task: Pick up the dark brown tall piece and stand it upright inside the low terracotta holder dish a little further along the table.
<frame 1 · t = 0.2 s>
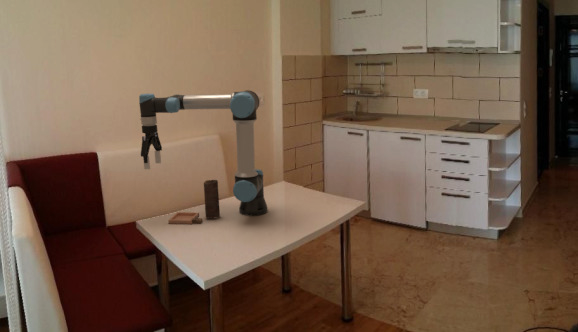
hand: (152, 166, 265), 28 cm above the table, fingers open, 13 cm apart
dark brown tall piece: (212, 218, 268), on the table
matchbox: (196, 222, 261), on the table
holder dish: (184, 220, 266), on the table
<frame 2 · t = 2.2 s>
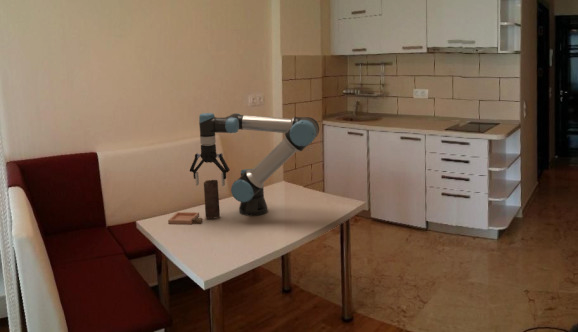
hand: (210, 185, 264), 18 cm above the table, fingers open, 13 cm apart
nothing on the table moved.
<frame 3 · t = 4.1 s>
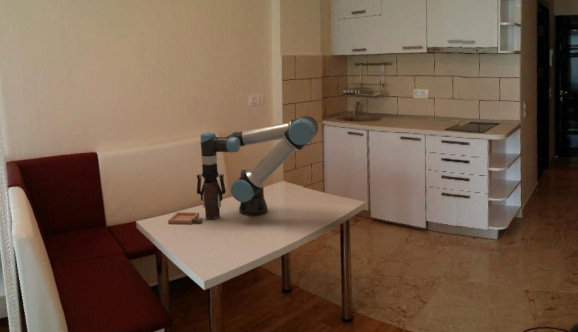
hand: (212, 206, 267), 6 cm above the table, fingers closed on dark brown tall piece, 7 cm apart
dark brown tall piece: (212, 218, 268), on the table, touching gripper
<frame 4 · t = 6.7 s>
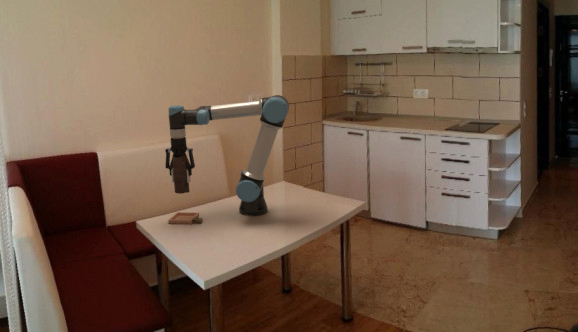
hand: (181, 181, 262), 20 cm above the table, fingers closed on dark brown tall piece, 7 cm apart
dark brown tall piece: (182, 193, 263), point 14 cm above the table, touching gripper
when the fingers open (8 cm above the table, at t = 9.6 s): dark brown tall piece drops 1 cm, resting on holder dish.
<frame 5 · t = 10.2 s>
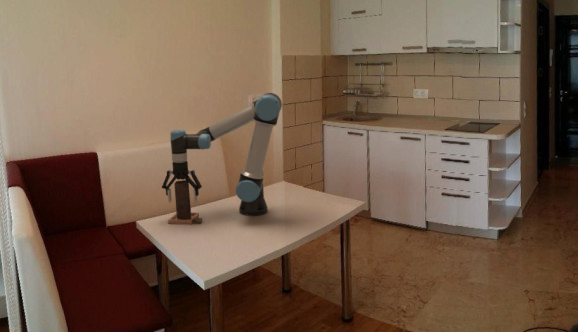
hand: (182, 201, 264), 10 cm above the table, fingers open, 13 cm apart
dark brown tall piece: (184, 219, 266), resting on holder dish
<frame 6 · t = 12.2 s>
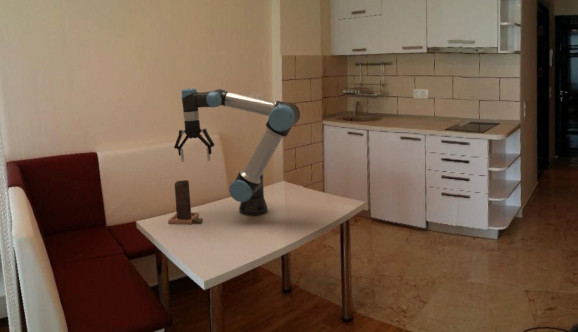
hand: (195, 161, 264), 30 cm above the table, fingers open, 13 cm apart
nothing on the table moved.
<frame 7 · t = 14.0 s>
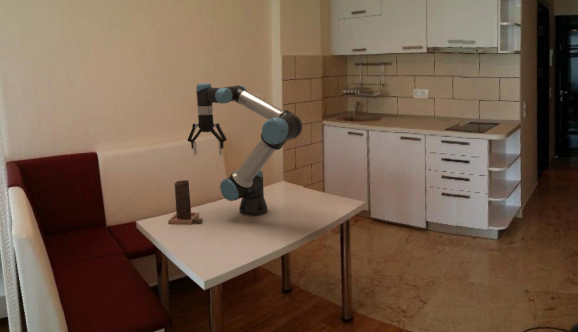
hand: (207, 154, 269), 32 cm above the table, fingers open, 13 cm apart
nothing on the table moved.
at the end: dark brown tall piece inside the target area on the holder dish (0.0 cm from its centre), point 0.4 cm above the holder dish's base; dark brown tall piece tilted 0°; the gripper is holding nothing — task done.
